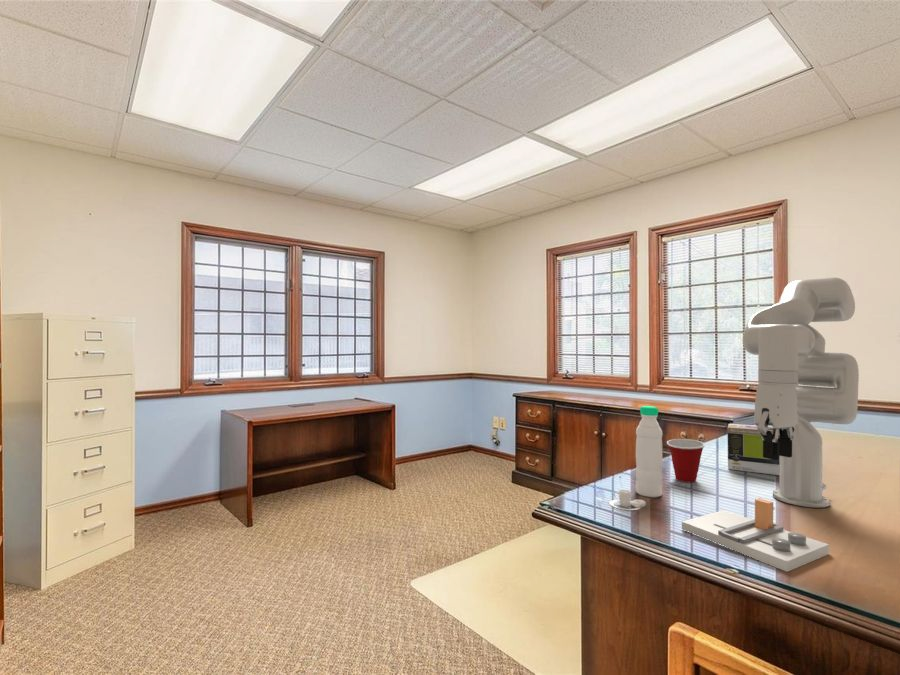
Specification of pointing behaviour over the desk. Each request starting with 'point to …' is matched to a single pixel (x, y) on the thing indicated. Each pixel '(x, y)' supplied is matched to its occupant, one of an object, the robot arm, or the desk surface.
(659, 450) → the water bottle
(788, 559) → the console
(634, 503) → the white ring with post
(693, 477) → the plastic cup
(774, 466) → the tea box
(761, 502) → the block
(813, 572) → the desk surface
